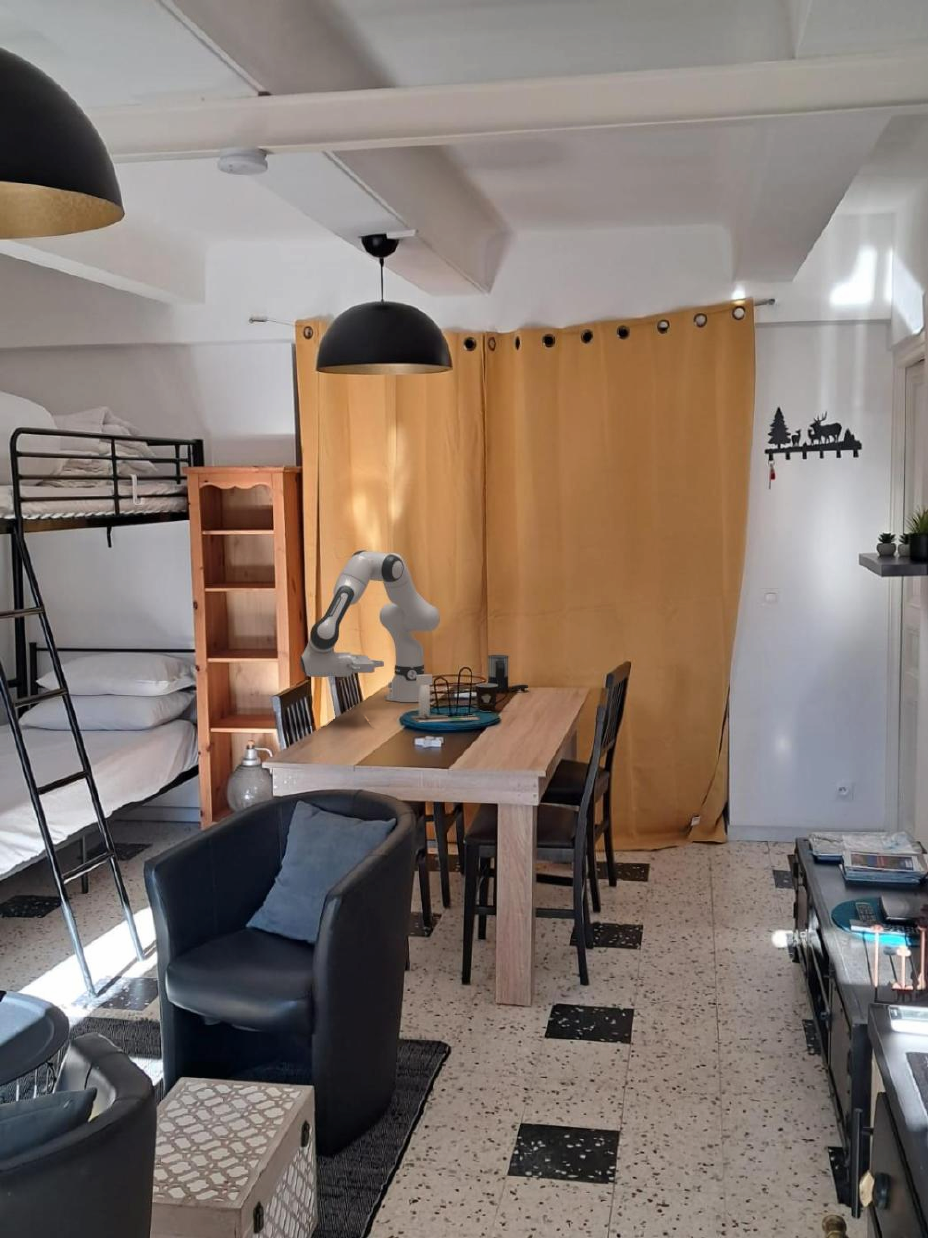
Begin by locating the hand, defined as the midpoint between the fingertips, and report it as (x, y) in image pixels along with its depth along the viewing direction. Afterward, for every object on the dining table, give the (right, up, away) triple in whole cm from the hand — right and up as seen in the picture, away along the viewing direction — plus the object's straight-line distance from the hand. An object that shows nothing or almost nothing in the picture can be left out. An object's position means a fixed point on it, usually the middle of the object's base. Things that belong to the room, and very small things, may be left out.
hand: (383, 663), depth 440 cm
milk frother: (+48, -14, +68) cm, 84 cm away
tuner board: (+23, -21, +1) cm, 31 cm away
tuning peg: (+15, -20, -3) cm, 25 cm away
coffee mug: (+40, -19, +22) cm, 49 cm away
